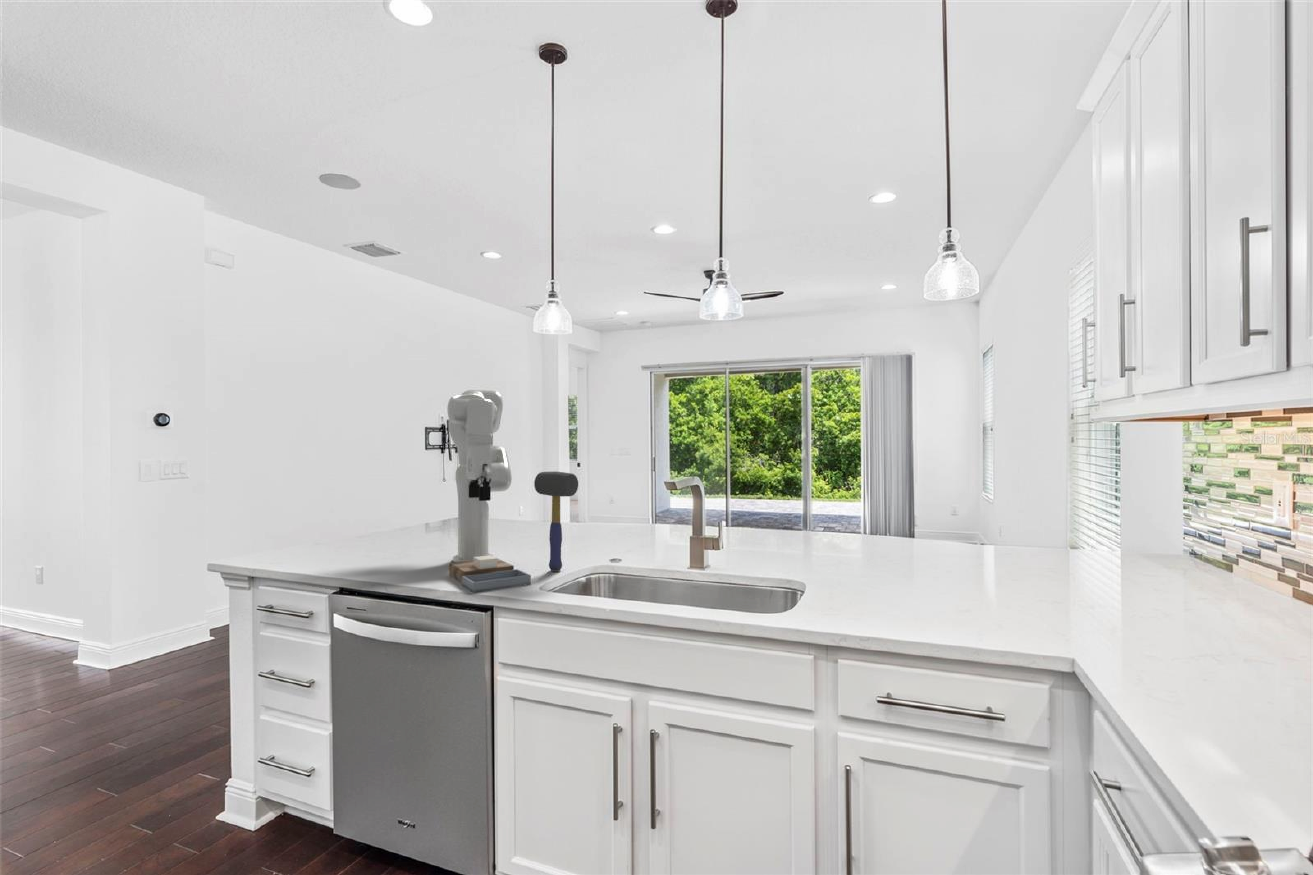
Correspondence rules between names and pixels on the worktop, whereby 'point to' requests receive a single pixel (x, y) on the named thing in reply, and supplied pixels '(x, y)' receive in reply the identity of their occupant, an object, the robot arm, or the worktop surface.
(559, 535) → the rubber mallet
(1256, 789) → the worktop surface
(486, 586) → the tray
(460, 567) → the walnut board
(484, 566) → the cream tile
